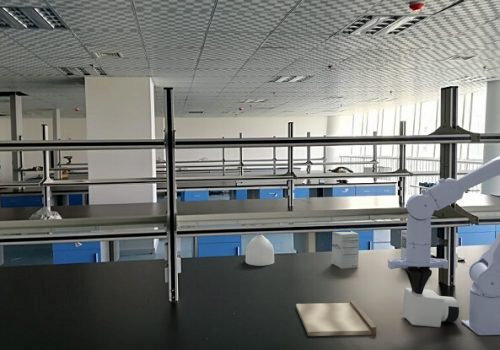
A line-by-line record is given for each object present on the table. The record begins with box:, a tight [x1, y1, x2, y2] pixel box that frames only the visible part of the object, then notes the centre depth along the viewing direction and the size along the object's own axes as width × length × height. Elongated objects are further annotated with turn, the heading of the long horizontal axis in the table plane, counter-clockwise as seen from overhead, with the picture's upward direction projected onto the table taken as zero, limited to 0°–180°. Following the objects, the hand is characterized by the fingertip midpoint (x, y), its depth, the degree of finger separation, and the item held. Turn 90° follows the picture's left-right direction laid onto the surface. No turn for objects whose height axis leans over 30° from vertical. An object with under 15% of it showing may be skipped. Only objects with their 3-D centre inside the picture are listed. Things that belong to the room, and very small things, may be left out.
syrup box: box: [400, 229, 407, 258], centre depth 157 cm, size 6×6×14 cm
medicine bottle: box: [401, 287, 460, 328], centre depth 109 cm, size 7×7×12 cm
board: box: [295, 299, 377, 337], centre depth 110 cm, size 16×18×2 cm
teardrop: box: [245, 234, 275, 267], centre depth 166 cm, size 11×11×12 cm
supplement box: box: [331, 230, 360, 270], centre depth 161 cm, size 7×7×13 cm
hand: (416, 296), depth 109 cm, fingers closed
